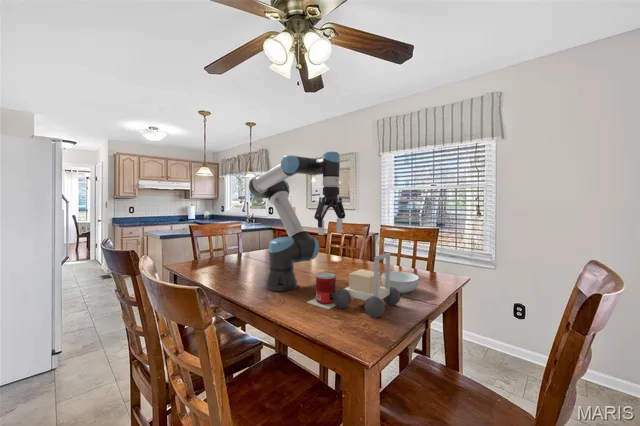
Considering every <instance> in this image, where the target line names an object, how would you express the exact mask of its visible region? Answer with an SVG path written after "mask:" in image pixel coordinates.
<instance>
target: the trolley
mask: <svg viewBox="0 0 640 426" xmlns="http://www.w3.org/2000/svg"><path fill="white" fill-rule="evenodd" d="M391 256H392V255H391V252H385V253H382V254H380V255H377V256H374V257H373V270H367V269H362V268H361V269H358V270H355V271H352V272H350V273H349V274H348V286H346V287H345V288H339V289H335V292H334V295H333V300H334V302H335V304H336V305H337V306H336V307H338V308H340V309H344V308H346V307H349V305H350V304H351V301H352V298H355V299H359V300H363V301H365V302H364V310H365V312H366V313H367V315H369V317H372V318H374V319H375V318H379V317H380V316H382V315H383V314H384V313H385V310H386V307H385V304H386V305H388V306H390V307H391V306H396V305H397V304H399V302H400V301H401V293H399V291H398V290H397V289H396V288H394V287H390V272H391ZM383 259H385V273H386V282H385V286H381V272H379V267H380V265H379V261H381V260H383Z"/></svg>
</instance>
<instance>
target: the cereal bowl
mask: <svg viewBox="0 0 640 426" xmlns="http://www.w3.org/2000/svg"><path fill="white" fill-rule="evenodd" d="M380 280H381V283H382V285H383V287H385V282H386V272H383V273H382V274H381V275H380ZM419 281H420V277H419V276H418V275H417V274H415V273H412V272H406V271H398V270H397V271H393V270H392V271H390V287H394V288H396V289H397V290H398V291H399V293H400V295H402V294H408V293H409V292H412V291H414V290H416V289H417V288H418V286H419V285H420V284H419V283H420V282H419Z"/></svg>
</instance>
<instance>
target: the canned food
mask: <svg viewBox="0 0 640 426" xmlns="http://www.w3.org/2000/svg"><path fill="white" fill-rule="evenodd" d="M335 291H336V274H335V273H332V272H327V271H326V272H325V271H324V272H318V273H316V274H315V298H316V301H317V302H318V303H320V304H332V303H334V300H333V295H334V292H335Z"/></svg>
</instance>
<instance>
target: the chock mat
mask: <svg viewBox="0 0 640 426" xmlns="http://www.w3.org/2000/svg"><path fill="white" fill-rule="evenodd" d="M306 303H307V304H309V305H312V306H316V307H320V308H322V309H325V310H330V309H332V308H335V307H338V306H337V305H336V304H335V302H334V303H332V304H320V303H318V302H317V301H316V297H315V298H313V299H311V300H308V301H306Z"/></svg>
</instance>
